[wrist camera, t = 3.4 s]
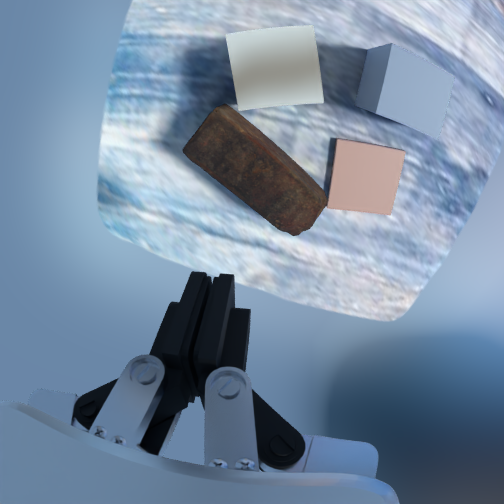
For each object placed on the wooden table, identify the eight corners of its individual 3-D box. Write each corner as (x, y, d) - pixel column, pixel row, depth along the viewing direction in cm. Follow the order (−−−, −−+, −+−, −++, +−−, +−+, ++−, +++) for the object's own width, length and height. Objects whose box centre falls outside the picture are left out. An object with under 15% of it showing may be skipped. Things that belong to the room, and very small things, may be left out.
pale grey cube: (236, 44, 16) (225, 34, 12) (304, 37, 15) (313, 25, 11) (246, 104, 19) (238, 110, 15) (312, 98, 18) (323, 103, 14)
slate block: (367, 49, 15) (392, 43, 11) (421, 73, 15) (454, 76, 11) (354, 105, 18) (375, 113, 14) (408, 125, 18) (438, 140, 14)
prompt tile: (336, 138, 20) (337, 139, 19) (403, 150, 19) (405, 151, 19) (326, 205, 23) (327, 208, 23) (388, 212, 23) (390, 215, 22)
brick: (195, 138, 21) (177, 153, 17) (226, 101, 19) (214, 107, 15) (291, 217, 24) (293, 247, 20) (324, 187, 22) (334, 213, 18)
